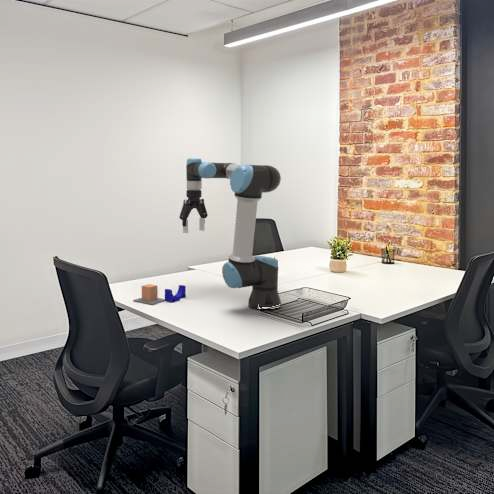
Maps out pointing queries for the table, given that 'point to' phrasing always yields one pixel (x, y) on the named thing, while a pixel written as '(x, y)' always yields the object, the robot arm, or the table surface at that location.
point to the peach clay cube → (149, 292)
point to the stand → (149, 302)
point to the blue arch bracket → (173, 298)
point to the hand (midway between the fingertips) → (193, 231)
